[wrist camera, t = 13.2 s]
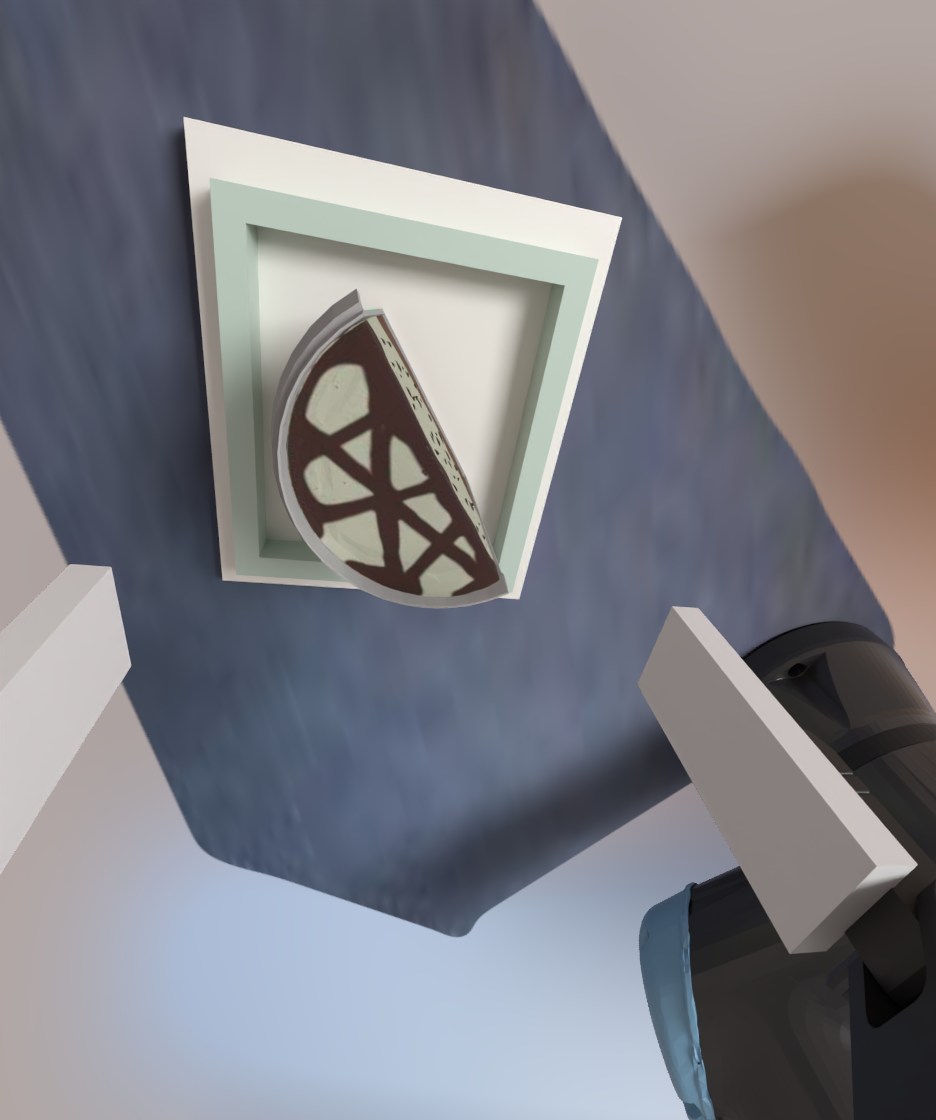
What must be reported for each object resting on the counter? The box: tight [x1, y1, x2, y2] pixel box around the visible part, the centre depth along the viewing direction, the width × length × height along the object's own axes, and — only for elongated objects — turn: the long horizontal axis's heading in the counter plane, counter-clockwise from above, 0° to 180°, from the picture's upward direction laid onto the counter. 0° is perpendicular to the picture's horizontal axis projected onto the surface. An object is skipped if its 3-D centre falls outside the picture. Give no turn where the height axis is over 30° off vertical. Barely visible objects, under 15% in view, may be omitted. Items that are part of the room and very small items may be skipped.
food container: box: [271, 289, 509, 608], centre depth 22 cm, size 12×6×10 cm, turn 25°
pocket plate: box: [184, 117, 622, 599], centre depth 26 cm, size 18×21×3 cm
